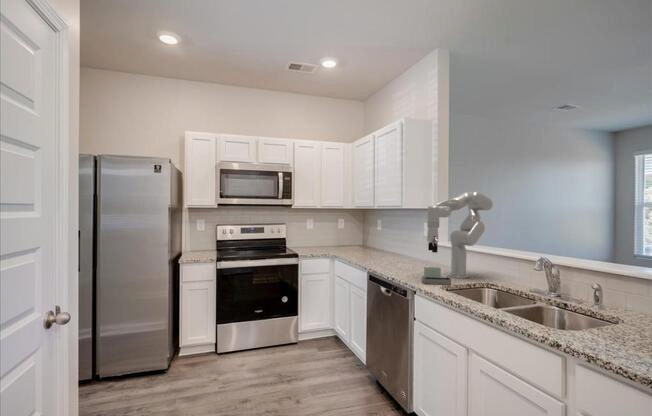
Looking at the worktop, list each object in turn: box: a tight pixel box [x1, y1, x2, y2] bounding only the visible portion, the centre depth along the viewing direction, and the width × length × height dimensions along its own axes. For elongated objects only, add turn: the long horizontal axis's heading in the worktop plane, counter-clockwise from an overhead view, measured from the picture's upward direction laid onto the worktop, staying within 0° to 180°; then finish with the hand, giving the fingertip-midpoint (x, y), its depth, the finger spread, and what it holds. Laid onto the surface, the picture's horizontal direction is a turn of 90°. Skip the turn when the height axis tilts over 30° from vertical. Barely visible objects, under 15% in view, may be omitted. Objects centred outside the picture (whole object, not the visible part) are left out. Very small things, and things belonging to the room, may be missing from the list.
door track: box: [421, 275, 452, 286], centre depth 203 cm, size 7×16×4 cm, turn 86°
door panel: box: [423, 266, 442, 278], centre depth 213 cm, size 3×10×8 cm, turn 86°
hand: (432, 251), depth 213 cm, fingers open, 9 cm apart
